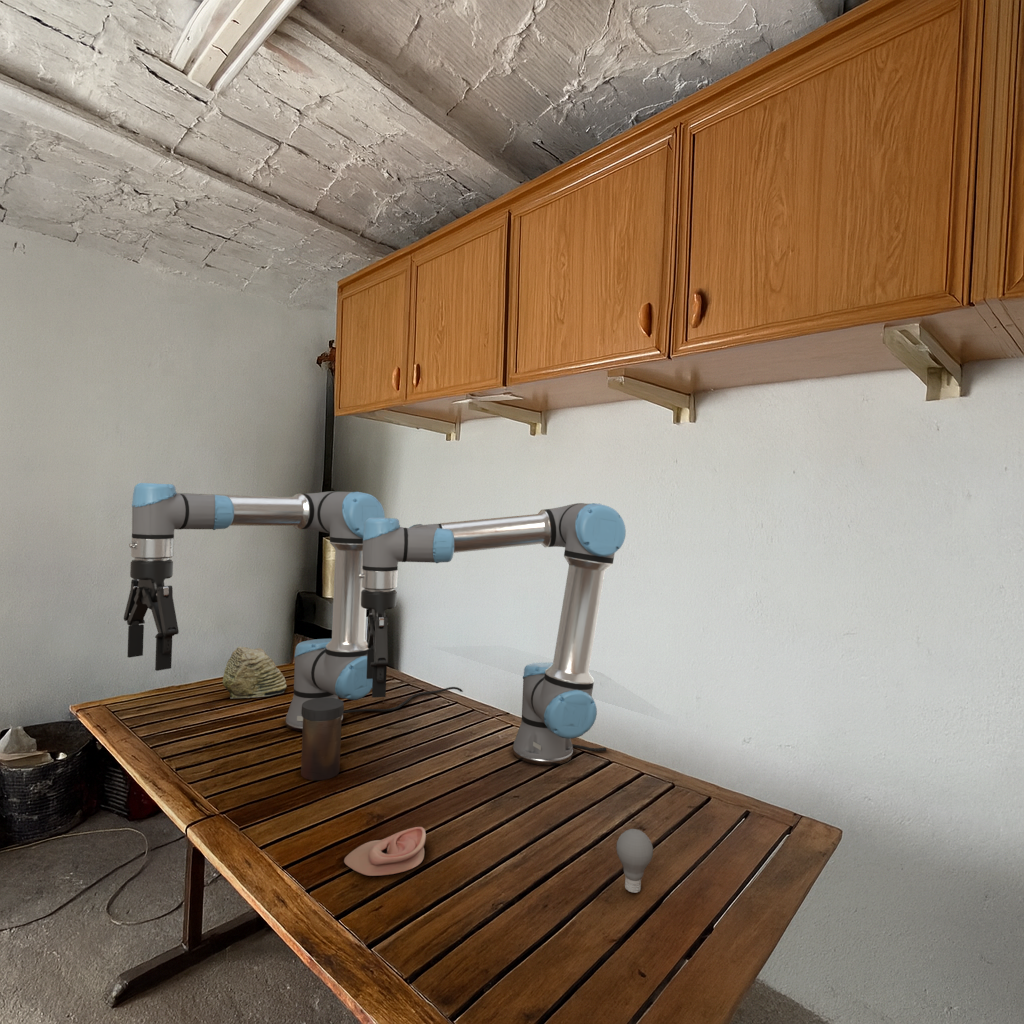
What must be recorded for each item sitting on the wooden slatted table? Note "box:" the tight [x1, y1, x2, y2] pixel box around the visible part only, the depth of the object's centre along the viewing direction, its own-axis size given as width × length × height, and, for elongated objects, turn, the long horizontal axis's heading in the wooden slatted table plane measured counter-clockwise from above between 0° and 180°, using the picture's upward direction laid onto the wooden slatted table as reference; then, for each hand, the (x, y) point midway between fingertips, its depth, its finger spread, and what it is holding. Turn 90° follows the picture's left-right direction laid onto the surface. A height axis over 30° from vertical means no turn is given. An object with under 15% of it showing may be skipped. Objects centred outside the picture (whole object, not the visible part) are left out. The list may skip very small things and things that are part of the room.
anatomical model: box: [343, 826, 427, 877], centre depth 112 cm, size 13×4×12 cm
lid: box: [301, 698, 345, 721], centre depth 145 cm, size 9×9×2 cm
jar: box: [300, 716, 342, 781], centre depth 145 cm, size 8×8×15 cm
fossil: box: [222, 646, 288, 699], centre depth 198 cm, size 9×18×15 cm, turn 132°
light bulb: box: [615, 828, 654, 894], centre depth 106 cm, size 6×6×10 cm
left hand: (148, 662), depth 129 cm, fingers open, 13 cm apart
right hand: (375, 687), depth 137 cm, fingers open, 13 cm apart
